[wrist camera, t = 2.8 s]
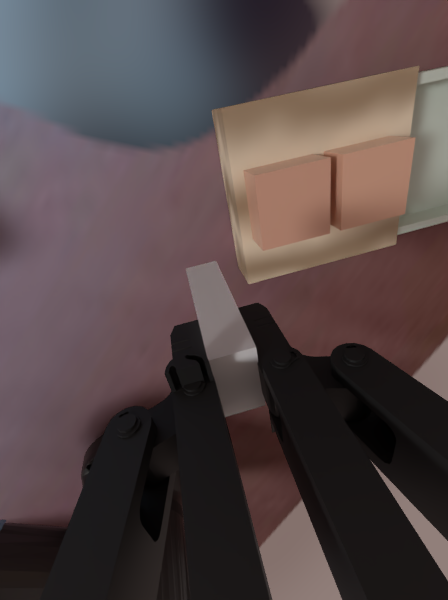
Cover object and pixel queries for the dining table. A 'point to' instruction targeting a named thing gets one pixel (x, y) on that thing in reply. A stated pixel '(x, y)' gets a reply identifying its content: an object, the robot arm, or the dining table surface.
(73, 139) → the dining table surface
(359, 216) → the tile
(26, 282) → the dining table surface
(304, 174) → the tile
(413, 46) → the dining table surface
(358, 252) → the board
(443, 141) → the tray
